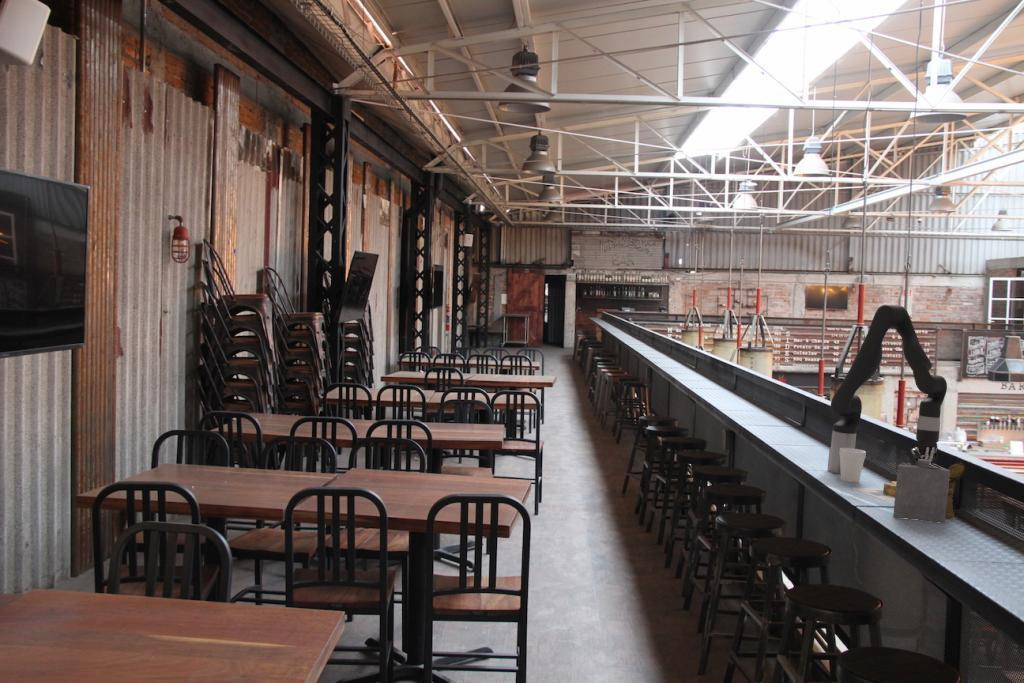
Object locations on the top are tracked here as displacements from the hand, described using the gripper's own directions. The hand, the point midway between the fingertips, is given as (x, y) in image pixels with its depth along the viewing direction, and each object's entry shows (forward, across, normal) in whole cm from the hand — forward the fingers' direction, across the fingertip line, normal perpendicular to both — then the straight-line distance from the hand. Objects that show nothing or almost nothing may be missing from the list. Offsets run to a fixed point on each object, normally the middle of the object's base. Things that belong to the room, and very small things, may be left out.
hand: (924, 474), depth 297 cm
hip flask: (+9, +27, +28) cm, 40 cm away
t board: (+8, +15, 0) cm, 17 cm away
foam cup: (+8, +15, -21) cm, 27 cm away
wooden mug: (+9, +12, +23) cm, 27 cm away
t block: (+8, +11, 0) cm, 13 cm away
